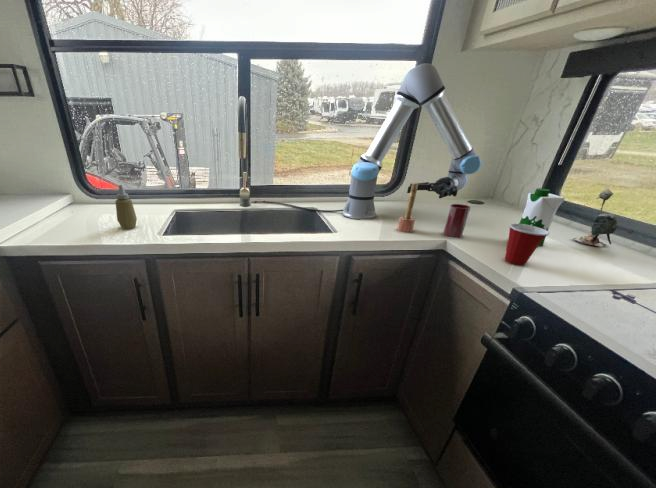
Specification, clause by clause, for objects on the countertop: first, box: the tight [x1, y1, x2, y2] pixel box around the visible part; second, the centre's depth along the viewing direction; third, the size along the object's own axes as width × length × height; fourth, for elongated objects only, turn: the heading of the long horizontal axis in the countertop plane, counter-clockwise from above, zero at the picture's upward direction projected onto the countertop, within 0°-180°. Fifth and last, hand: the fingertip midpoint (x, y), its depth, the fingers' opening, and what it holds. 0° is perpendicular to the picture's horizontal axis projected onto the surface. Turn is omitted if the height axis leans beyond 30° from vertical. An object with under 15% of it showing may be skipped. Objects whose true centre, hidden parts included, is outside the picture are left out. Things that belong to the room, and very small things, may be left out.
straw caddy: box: [397, 215, 416, 233], centre depth 141 cm, size 6×6×6 cm
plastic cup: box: [504, 222, 550, 266], centre depth 110 cm, size 11×11×12 cm
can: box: [442, 203, 472, 239], centre depth 134 cm, size 7×7×12 cm
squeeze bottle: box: [114, 184, 138, 230], centre depth 144 cm, size 8×8×18 cm
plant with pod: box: [573, 188, 618, 248], centre depth 123 cm, size 8×11×20 cm
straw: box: [404, 182, 419, 219], centre depth 138 cm, size 2×2×19 cm
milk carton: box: [518, 187, 566, 247], centre depth 124 cm, size 9×9×20 cm
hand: (423, 192), depth 141 cm, fingers open, 13 cm apart
